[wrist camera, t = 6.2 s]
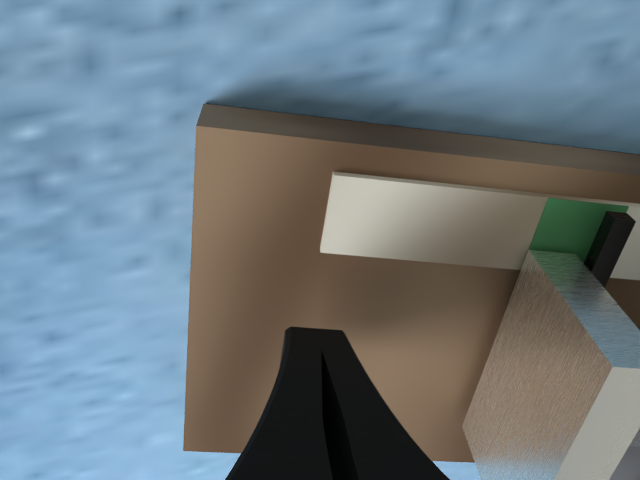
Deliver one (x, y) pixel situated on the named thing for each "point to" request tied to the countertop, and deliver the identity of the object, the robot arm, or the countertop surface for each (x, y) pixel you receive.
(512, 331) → the gauge plunger
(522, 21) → the countertop surface
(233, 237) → the brown piece
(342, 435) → the robot arm
